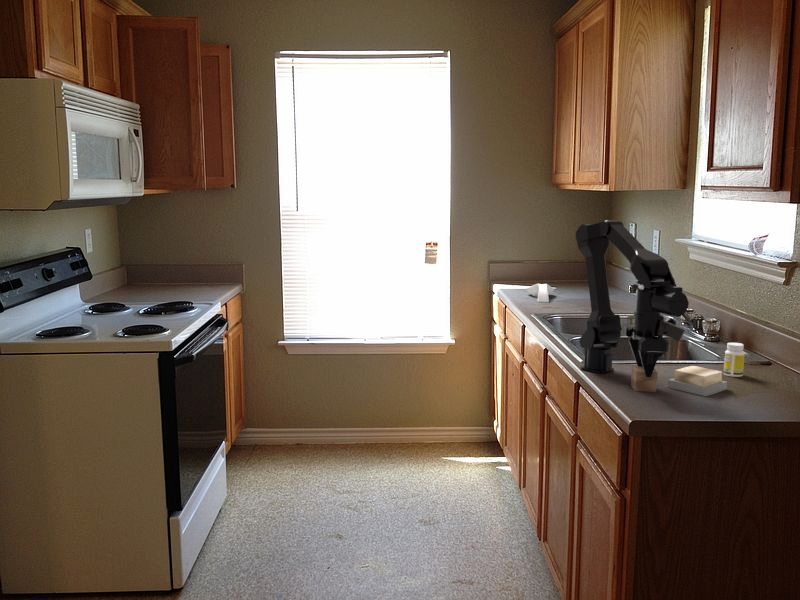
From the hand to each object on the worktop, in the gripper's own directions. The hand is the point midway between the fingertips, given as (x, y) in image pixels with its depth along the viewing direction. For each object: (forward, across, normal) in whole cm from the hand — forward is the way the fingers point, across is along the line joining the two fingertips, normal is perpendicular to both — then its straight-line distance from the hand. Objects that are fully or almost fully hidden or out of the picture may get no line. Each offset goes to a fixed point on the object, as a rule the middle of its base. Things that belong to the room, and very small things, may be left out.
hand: (644, 372), depth 187 cm
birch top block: (+2, +2, -14) cm, 14 cm away
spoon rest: (+5, +141, +12) cm, 142 cm away
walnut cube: (+4, 0, 0) cm, 4 cm away
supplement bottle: (+4, +17, -27) cm, 32 cm away
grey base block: (+5, +2, -14) cm, 14 cm away
